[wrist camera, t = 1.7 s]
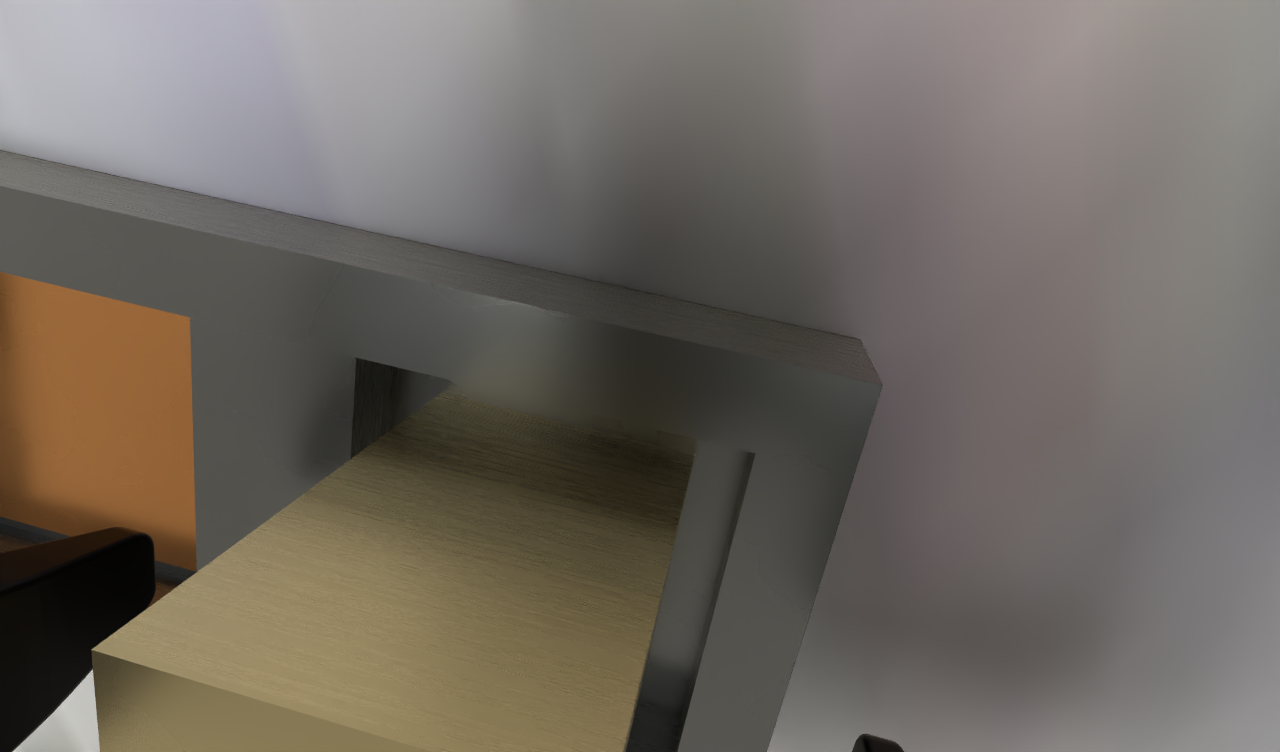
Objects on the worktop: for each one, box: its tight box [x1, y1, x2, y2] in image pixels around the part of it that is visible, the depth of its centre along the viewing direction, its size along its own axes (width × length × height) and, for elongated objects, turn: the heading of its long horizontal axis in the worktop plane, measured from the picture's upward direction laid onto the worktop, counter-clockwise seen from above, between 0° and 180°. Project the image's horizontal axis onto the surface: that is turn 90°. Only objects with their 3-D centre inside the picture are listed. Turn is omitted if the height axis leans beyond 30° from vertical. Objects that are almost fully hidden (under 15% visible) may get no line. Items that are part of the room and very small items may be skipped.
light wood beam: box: [91, 393, 695, 752], centre depth 9 cm, size 4×4×6 cm
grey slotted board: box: [0, 151, 883, 752], centre depth 12 cm, size 16×8×2 cm, turn 79°
